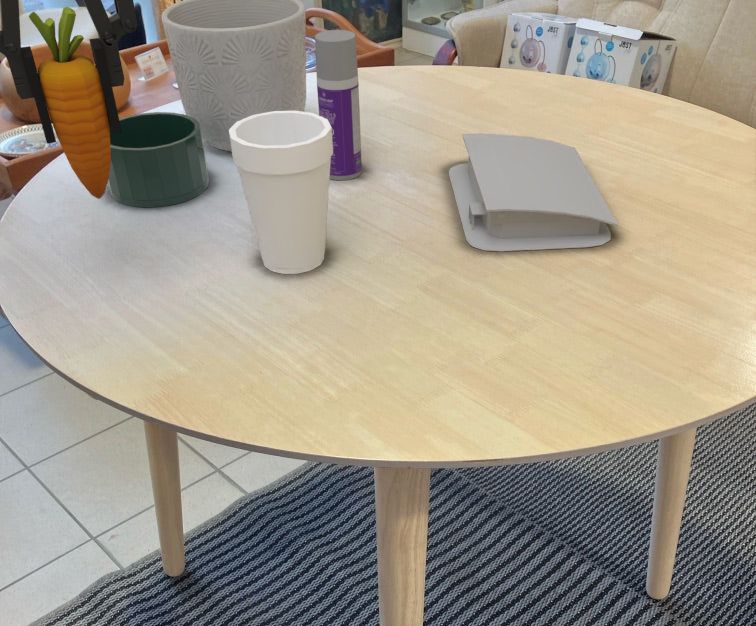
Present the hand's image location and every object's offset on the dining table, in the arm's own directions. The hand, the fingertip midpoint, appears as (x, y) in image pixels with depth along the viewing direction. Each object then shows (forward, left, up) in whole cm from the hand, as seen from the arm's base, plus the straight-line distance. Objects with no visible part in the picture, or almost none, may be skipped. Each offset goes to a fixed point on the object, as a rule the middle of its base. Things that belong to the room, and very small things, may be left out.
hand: (82, 131), depth 71 cm
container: (+15, +32, -16) cm, 39 cm away
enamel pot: (-6, +26, -16) cm, 31 cm away
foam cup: (+14, +10, -16) cm, 24 cm away
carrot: (0, 0, -6) cm, 6 cm away
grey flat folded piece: (+37, +26, -16) cm, 48 cm away
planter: (+1, +41, -16) cm, 44 cm away
